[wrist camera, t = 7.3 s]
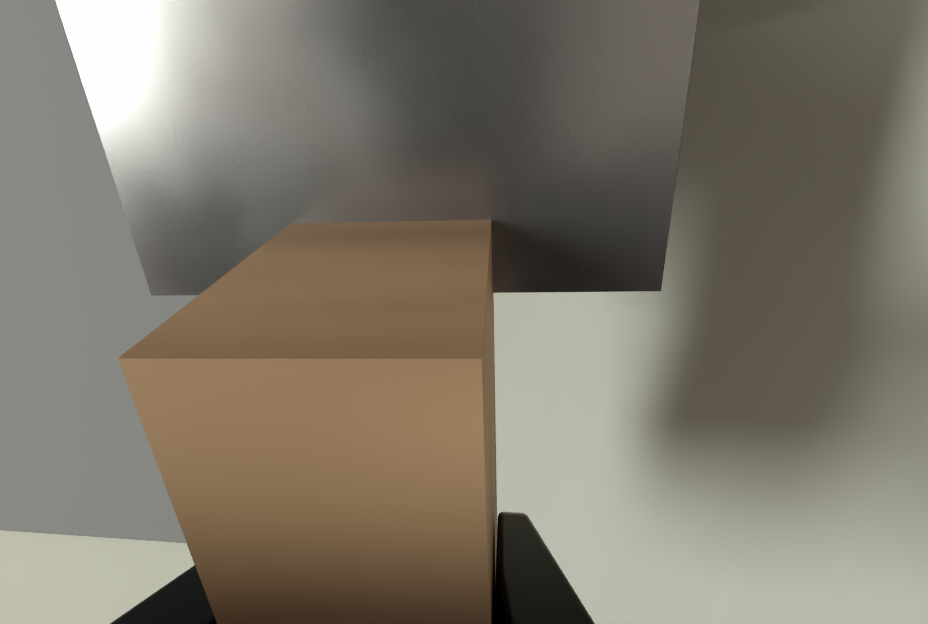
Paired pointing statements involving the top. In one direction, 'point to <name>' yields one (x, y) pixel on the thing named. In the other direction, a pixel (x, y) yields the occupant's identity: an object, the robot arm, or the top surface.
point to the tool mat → (68, 306)
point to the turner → (366, 263)
